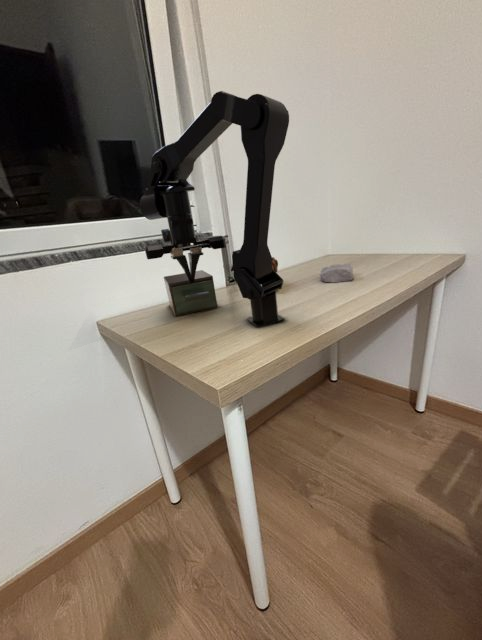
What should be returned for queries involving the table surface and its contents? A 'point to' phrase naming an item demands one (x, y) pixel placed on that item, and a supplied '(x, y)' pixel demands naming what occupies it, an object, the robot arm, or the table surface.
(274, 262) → the wooden carving
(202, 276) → the cabinet
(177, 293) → the drawer
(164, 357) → the table surface
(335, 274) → the stone block
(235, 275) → the robot arm
